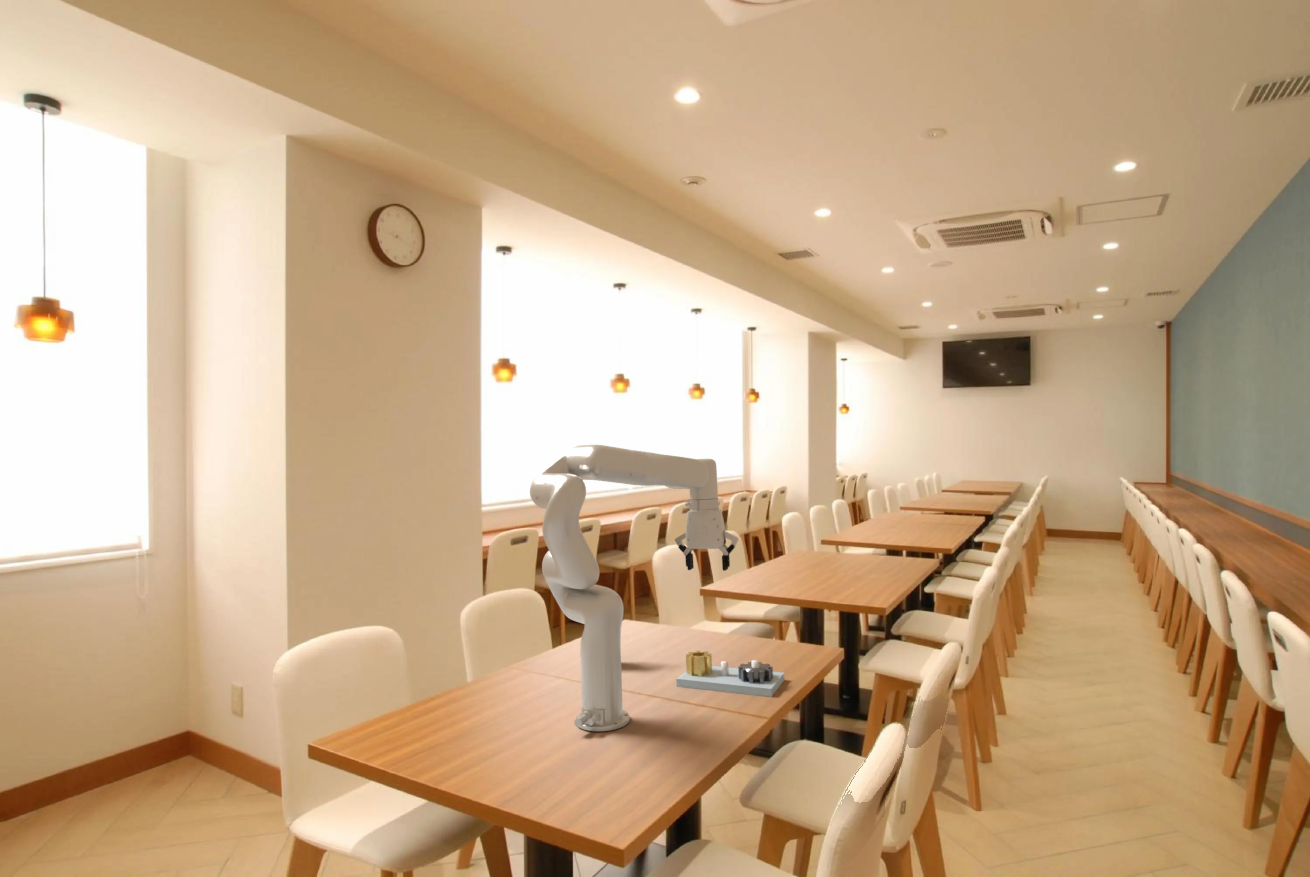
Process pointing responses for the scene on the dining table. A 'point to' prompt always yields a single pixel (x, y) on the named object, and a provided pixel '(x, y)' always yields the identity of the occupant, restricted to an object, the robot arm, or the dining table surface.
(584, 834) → the dining table surface
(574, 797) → the dining table surface
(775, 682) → the board
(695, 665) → the brass gear
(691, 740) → the dining table surface
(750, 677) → the steel gear
